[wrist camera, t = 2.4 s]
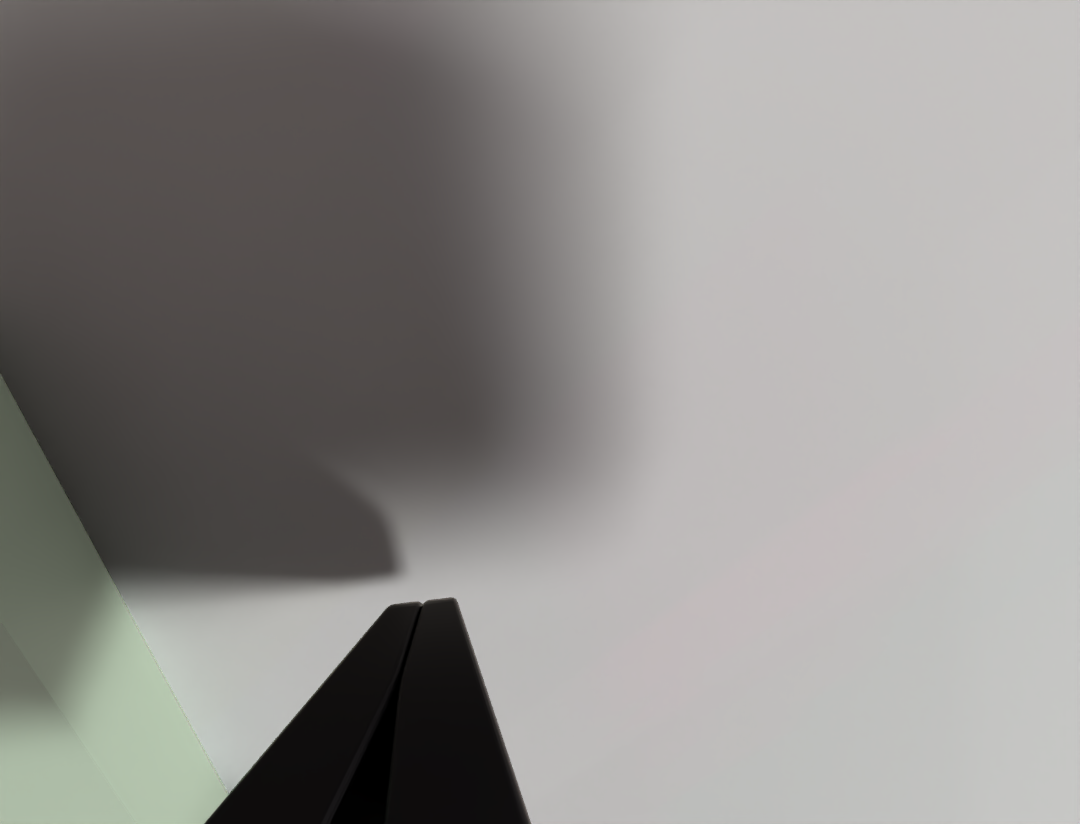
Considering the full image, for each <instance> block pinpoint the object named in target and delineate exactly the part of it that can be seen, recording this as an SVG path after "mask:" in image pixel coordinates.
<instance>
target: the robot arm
mask: <svg viewBox="0 0 1080 824" xmlns="http://www.w3.org/2000/svg"><path fill="white" fill-rule="evenodd" d="M204 824H531V822H530V819H529V816H528V813H527V810H526V807H525V804H524V801H523V798H522V795H521V792H520V789H519V786H518V783H517V780H516V777H515V774H514V771H513V768H512V765H511V762H510V759H509V756H508V753H507V750H506V747H505V744H504V741H503V738H502V735H501V732H500V729H499V726H498V722H497V719H496V716H495V713H494V710H493V707H492V704H491V701H490V698H489V695H488V692H487V689H486V686H485V683H484V680H483V677H482V674H481V671H480V668H479V665H478V662H477V659H476V656H475V653H474V650H473V647H472V644H471V641H470V638H469V635H468V632H467V629H466V626H465V623H464V620H463V617H462V614H461V611H460V608H459V605H458V602H457V600H456V599H455V598H442V599H434V600H428V601H426V602H425V603H424V604H422V603H420V602H408V603H400V604H393V605H390V606H389V607H388V608H386V609H385V611H384V612H383V613H382V614H381V615H380V616H379V618H378V619H377V620H376V621H375V622H374V624H373V625H372V626H371V627H370V628H369V629H368V631H367V632H366V633H365V634H364V635H363V637H362V638H361V639H360V640H359V641H358V642H357V644H356V645H355V646H354V647H353V648H352V650H351V651H350V652H349V653H348V654H347V655H346V657H345V658H344V659H343V660H342V661H341V663H340V664H339V665H338V666H337V667H336V668H335V670H334V671H333V672H332V673H331V674H330V675H329V677H328V678H327V679H326V680H325V681H324V683H323V684H322V685H321V686H320V687H319V688H318V690H317V691H316V692H315V693H314V694H313V696H312V697H311V698H310V699H309V700H308V701H307V703H306V704H305V705H304V706H303V707H302V709H301V710H300V711H299V712H298V713H297V714H296V716H295V717H294V718H293V719H292V720H291V722H290V723H289V724H288V725H287V726H286V727H285V729H284V730H283V731H282V732H281V733H280V734H279V736H278V737H277V738H276V739H275V740H274V742H273V743H272V744H271V745H270V746H269V747H268V749H267V750H266V751H265V752H264V753H263V755H262V756H261V757H260V758H259V759H258V760H257V762H256V763H255V764H254V765H253V766H252V768H251V769H250V770H249V771H248V772H247V773H246V775H245V776H244V777H243V778H242V779H241V781H240V782H239V783H238V784H237V785H236V786H235V788H234V789H233V790H232V791H231V792H230V794H229V795H228V796H227V797H226V798H225V799H224V801H223V802H222V803H221V804H220V805H219V806H218V808H217V809H216V810H215V811H214V812H213V814H212V815H211V816H210V817H209V818H208V819H207V821H206V822H205V823H204Z"/></svg>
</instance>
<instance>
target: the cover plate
mask: <svg viewBox="0 0 1080 824" xmlns="http://www.w3.org/2000/svg"><path fill="white" fill-rule="evenodd" d="M228 795H229V794H228V793H227V791H226V789H225V787H224V785H223V783H222V781H221V780H220V778H219V776H218V774H217V772H216V770H215V769H214V767H213V765H212V763H211V761H210V759H209V758H208V756H207V754H206V752H205V750H204V748H203V746H202V745H201V743H200V741H199V739H198V737H197V735H196V734H195V732H194V730H193V728H192V726H191V724H190V722H189V721H188V719H187V717H186V715H185V713H184V711H183V710H182V708H181V706H180V704H179V702H178V700H177V698H176V697H175V695H174V693H173V691H172V689H171V687H170V686H169V684H168V682H167V680H166V678H165V676H164V674H163V673H162V671H161V669H160V667H159V665H158V663H157V662H156V660H155V658H154V656H153V654H152V652H151V650H150V649H149V647H148V645H147V643H146V641H145V639H144V638H143V636H142V634H141V632H140V630H139V628H138V626H137V625H136V623H135V621H134V619H133V617H132V615H131V614H130V612H129V610H128V608H127V606H126V604H125V603H124V601H123V599H122V597H121V595H120V593H119V591H118V590H117V588H116V586H115V584H114V582H113V580H112V579H111V577H110V575H109V573H108V571H107V569H106V567H105V566H104V564H103V562H102V560H101V558H100V556H99V555H98V553H97V551H96V549H95V547H94V545H93V543H92V542H91V540H90V538H89V536H88V534H87V532H86V531H85V529H84V527H83V525H82V523H81V521H80V519H79V518H78V516H77V514H76V512H75V510H74V508H73V507H72V505H71V503H70V501H69V499H68V497H67V495H66V494H65V492H64V490H63V488H62V486H61V484H60V483H59V481H58V479H57V477H56V475H55V473H54V471H53V470H52V468H51V466H50V464H49V462H48V460H47V459H46V457H45V455H44V453H43V451H42V449H41V448H40V446H39V444H38V442H37V440H36V438H35V436H34V435H33V433H32V431H31V429H30V427H29V425H28V424H27V422H26V420H25V418H24V416H23V414H22V412H21V411H20V409H19V407H18V405H17V403H16V401H15V400H14V398H13V396H12V394H11V392H10V390H9V388H8V387H7V385H6V383H5V381H4V379H3V377H2V376H1V374H0V824H204V823H205V822H206V821H207V819H208V818H209V817H210V816H211V815H212V814H213V812H214V811H215V810H216V809H217V808H218V806H219V805H220V804H221V803H222V802H223V801H224V799H225V798H226V797H227V796H228Z"/></svg>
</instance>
